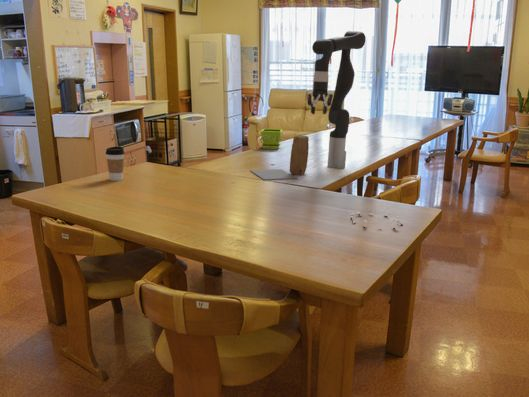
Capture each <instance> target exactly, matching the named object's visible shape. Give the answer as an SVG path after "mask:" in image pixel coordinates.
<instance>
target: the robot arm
mask: <svg viewBox="0 0 529 397" xmlns="http://www.w3.org/2000/svg"><path fill="white" fill-rule="evenodd" d="M366 38H367V37H366V35H365V33H364V31H363V32H362V31H357V30H348V31H346V32H345V33H344V35H343V36H335V37H331V38H325V39H317V40H315V41H314V42H313V43H312V48H311V49H312V51H313V53H314V54H315V55H322V56H321V58H319V59H316V60H315V62H314V73H313V84H312V85H313V86H312V93H307V94H306V99H307V105H308V106H310V113H311V114H312V115H315V114H316V105H317V103H318V102H321V103H322V105H323V106H322V114H323V115H326V114H327V112H328V117H327V118H328V122H329V123H330V124H331V125H334V126H335V127H334V129H333V130H331V131H329V137H328V138H329V141H328V152H327V153H328V155H327V156H328V157H327V168H330V169H332V168H333V169H343V168H344V169H345V168H346V160H347V150H346V142H347V140H346V138H347V134H348V133H349V125H350V118H351V117H350V112H349V111H348V109H346V108H343V103H344V101H345V99H346V97H347V95H348V94H349V92H350V91H351V89H352V87H353V85H354V80H355V70H354V67H353V66H354V65H353V63H352V61H351V51H352V50H361V49H362V48H364V46H365V44H366V41H367V40H366ZM339 51H341V55H340V56H341V57H340V61H339V62H340V63H339V67H338V68H339V69H338V71H337V76H336V82H335V87H334V93H328V90H329V68H330V67H329V66H330V63H331V62H330V61H331V58H332V55H333V53H335V52H339ZM312 97H313V98H312ZM328 107H329V111H328Z"/></svg>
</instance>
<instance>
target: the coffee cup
mask: <svg viewBox="0 0 529 397" xmlns="http://www.w3.org/2000/svg"><path fill="white" fill-rule="evenodd" d="M105 150H106V151H105V154H106V163H107V169H108V170H107V171H108V176H109V177H108V178H109V180H110V181H112V182H117V181H118V182H119V181H122V180H123V179H124V166H125V165H124V164H125V163H124V162H125V158H124V154H125V151H124V150H125V149H124V147H123V146H111V147H108V148H106V149H105Z"/></svg>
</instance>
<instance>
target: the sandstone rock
mask: <svg viewBox="0 0 529 397" xmlns="http://www.w3.org/2000/svg"><path fill="white" fill-rule="evenodd" d="M309 141H310V140H309V136H308V135H302V134H301V135H295V136H294V137H293V140H292V145H291V149H290V158H289V159H290V160H289V174H291V175H294V176H295V175H296V176H303V175H304V174H305V172H306V171H307V167H308V161H309V160H308V159H309V144H310V143H309Z"/></svg>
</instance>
